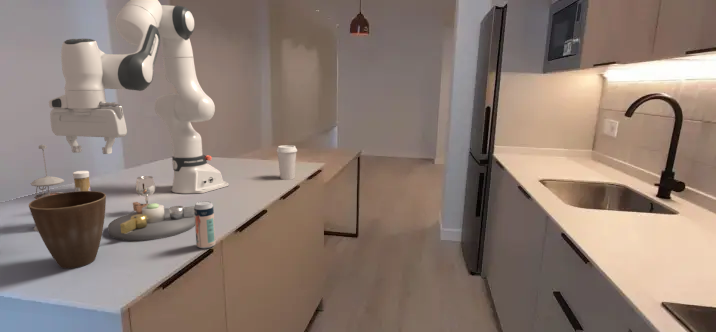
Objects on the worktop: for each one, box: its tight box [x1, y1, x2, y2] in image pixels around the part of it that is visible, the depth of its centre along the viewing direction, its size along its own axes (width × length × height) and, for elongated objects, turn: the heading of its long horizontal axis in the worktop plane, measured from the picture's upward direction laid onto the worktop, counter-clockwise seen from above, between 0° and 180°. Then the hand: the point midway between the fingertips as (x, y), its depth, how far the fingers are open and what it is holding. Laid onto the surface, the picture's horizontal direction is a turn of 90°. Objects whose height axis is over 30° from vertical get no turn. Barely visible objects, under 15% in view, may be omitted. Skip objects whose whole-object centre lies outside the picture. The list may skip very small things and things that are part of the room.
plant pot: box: [28, 190, 107, 269], centre depth 98 cm, size 15×15×16 cm
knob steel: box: [168, 205, 195, 219], centre depth 127 cm, size 8×4×3 cm, turn 110°
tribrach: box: [107, 202, 195, 242], centre depth 125 cm, size 24×24×7 cm
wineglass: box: [135, 175, 156, 204], centre depth 138 cm, size 6×6×12 cm
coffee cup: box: [276, 144, 298, 181], centre depth 190 cm, size 10×10×15 cm
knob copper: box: [132, 201, 149, 214], centre depth 130 cm, size 8×4×3 cm, turn 50°
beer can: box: [194, 200, 216, 250], centre depth 109 cm, size 5×5×12 cm
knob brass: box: [120, 214, 147, 233], centre depth 116 cm, size 8×4×3 cm, turn 170°
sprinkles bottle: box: [72, 170, 92, 192], centre depth 139 cm, size 5×5×13 cm
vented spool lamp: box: [30, 144, 65, 232], centre depth 123 cm, size 10×12×25 cm
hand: (92, 153), depth 111 cm, fingers open, 8 cm apart
